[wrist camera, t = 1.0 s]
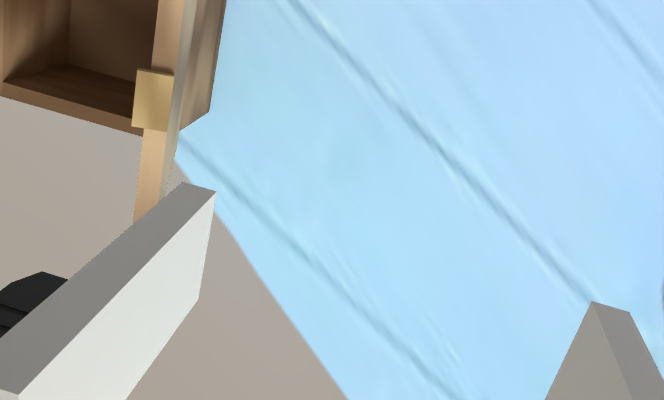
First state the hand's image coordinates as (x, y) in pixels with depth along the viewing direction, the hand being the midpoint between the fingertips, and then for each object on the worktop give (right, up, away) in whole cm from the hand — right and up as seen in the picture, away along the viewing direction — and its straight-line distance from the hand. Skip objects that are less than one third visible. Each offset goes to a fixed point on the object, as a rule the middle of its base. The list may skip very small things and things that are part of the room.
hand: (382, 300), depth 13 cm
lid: (-9, +8, +13) cm, 17 cm away
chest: (-12, +14, +24) cm, 31 cm away
